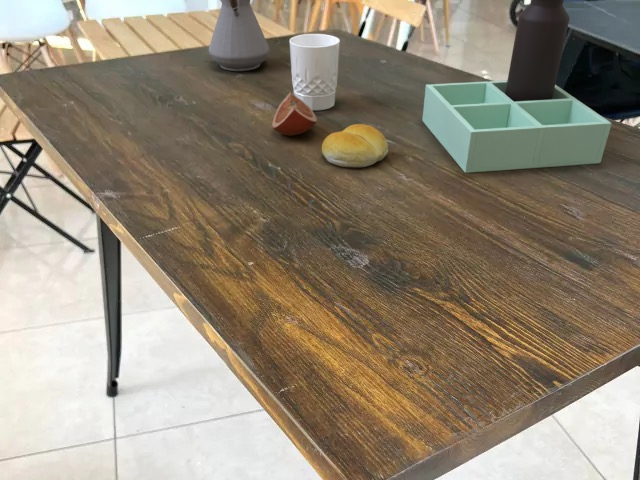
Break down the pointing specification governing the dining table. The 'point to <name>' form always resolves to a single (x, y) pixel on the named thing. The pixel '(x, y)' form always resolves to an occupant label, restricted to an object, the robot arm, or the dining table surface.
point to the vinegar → (537, 51)
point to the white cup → (315, 69)
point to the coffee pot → (238, 37)
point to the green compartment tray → (512, 127)
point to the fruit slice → (293, 116)
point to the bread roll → (355, 146)
